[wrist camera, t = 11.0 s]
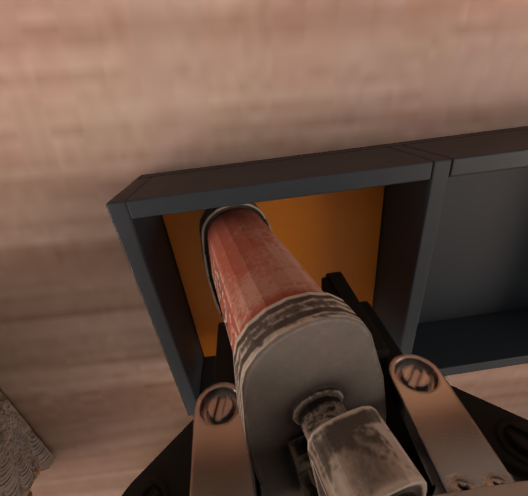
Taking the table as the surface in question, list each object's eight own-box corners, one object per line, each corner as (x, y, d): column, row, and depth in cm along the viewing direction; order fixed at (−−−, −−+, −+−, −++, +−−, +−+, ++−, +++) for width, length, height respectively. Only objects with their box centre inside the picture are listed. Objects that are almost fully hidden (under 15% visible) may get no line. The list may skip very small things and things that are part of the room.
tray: (622, 113, 12) (757, 118, 9) (534, 305, 17) (602, 352, 14) (140, 175, 12) (104, 203, 8) (196, 355, 17) (188, 416, 13)
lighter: (293, 327, 15) (454, 608, 7) (233, 351, 15) (326, 689, 6) (264, 186, 11) (568, 432, 3) (181, 210, 11) (239, 616, 2)
